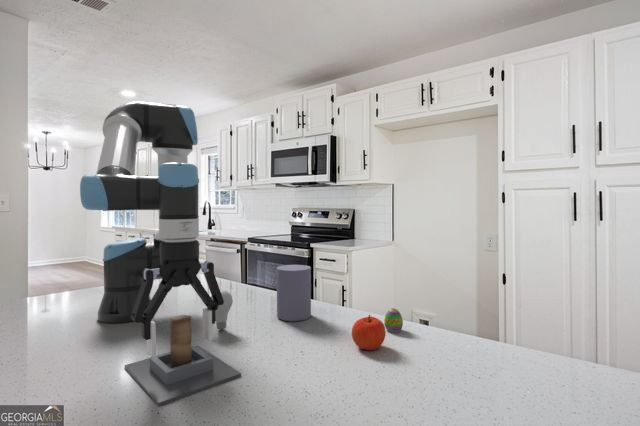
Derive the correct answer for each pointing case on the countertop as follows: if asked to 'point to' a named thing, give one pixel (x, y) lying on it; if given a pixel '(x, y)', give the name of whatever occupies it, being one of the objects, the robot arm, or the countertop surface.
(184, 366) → the socket
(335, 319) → the countertop surface
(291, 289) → the container
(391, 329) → the egg
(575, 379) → the countertop surface
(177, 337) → the peg
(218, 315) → the lightbulb
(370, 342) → the apple
